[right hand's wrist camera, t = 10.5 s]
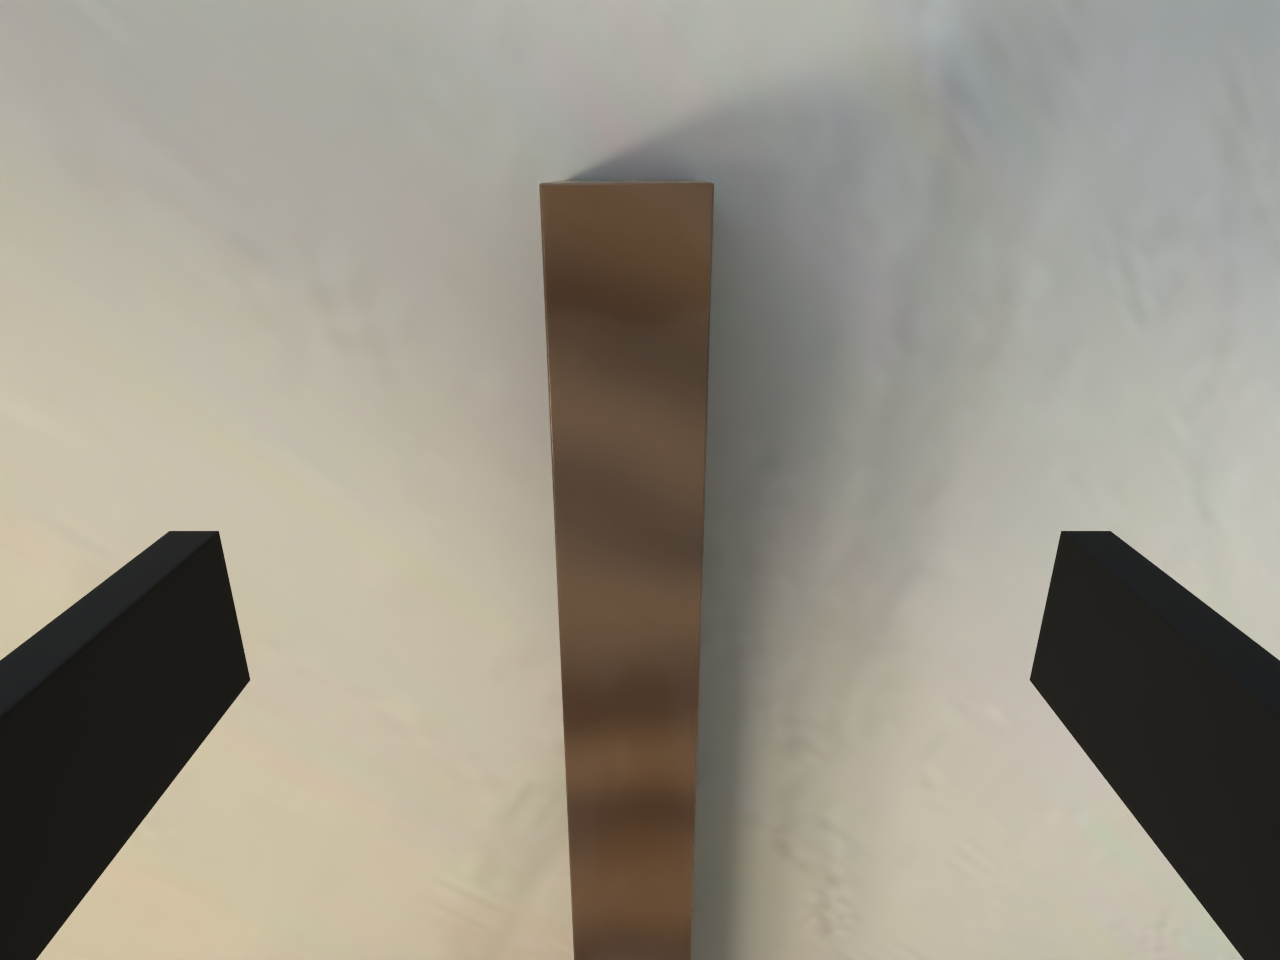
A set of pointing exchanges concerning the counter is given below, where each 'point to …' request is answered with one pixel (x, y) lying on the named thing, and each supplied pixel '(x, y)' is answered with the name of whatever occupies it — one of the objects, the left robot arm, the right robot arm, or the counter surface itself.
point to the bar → (629, 544)
